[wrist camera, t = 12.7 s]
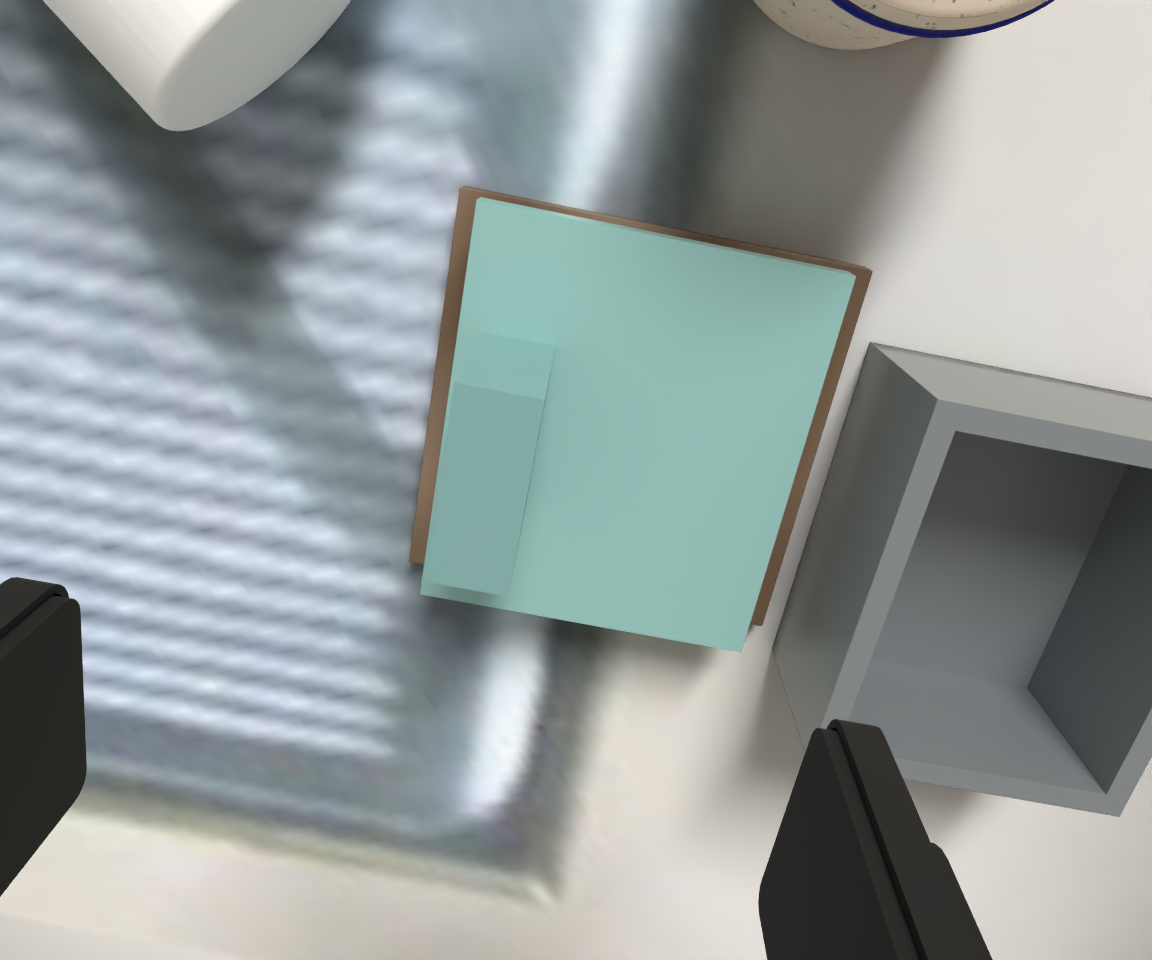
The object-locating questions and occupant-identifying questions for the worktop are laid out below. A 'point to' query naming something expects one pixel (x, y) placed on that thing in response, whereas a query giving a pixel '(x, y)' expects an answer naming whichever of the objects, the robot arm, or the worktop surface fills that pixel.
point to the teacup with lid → (891, 19)
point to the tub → (983, 581)
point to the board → (472, 194)
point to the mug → (197, 49)
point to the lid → (624, 423)
